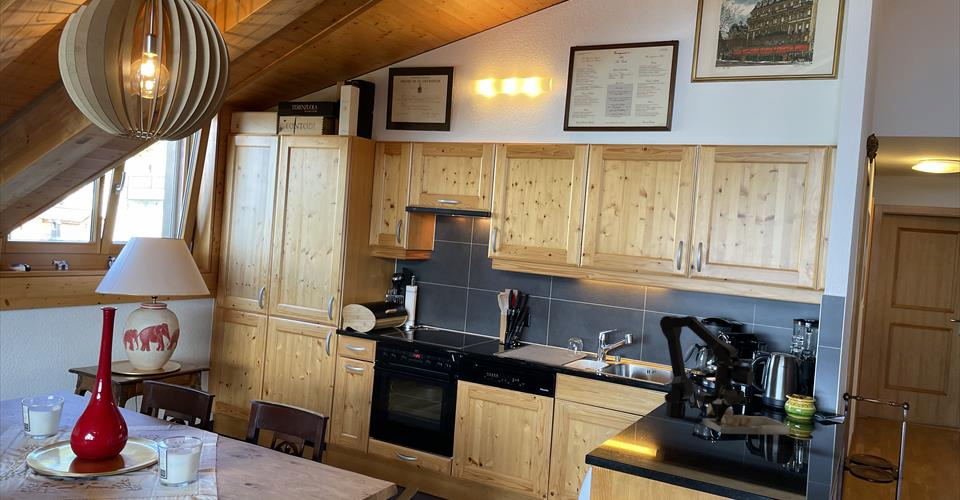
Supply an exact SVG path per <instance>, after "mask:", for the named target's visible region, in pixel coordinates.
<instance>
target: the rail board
mask: <svg viewBox="0 0 960 500" xmlns="http://www.w3.org/2000/svg"><path fill="white" fill-rule="evenodd" d="M746 416H747V417H750V418H752V420H751V426H730V425H720V424H721V421H720V422H717V420H716V418H702V421H701V422H700V424H701V425H703V426H705V427H708V428H710V429H713V430H714V431H716V432H719V433H721V434H722V435H723V434H726V435H727V434H728V435H729V434H731V435H739V434H740V435H774V436H775V435H776V436H779V435H781V436H782V435H783V436H791V433H792V425H791V426H790V425H788V424H785V423H783V422H781V421H778V420H776V419H773V418H771V417H768V416H760V415H759V416H758V415H753V416H751V415H750V416H749V415H746Z"/></svg>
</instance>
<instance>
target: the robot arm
mask: <svg viewBox="0 0 960 500" xmlns="http://www.w3.org/2000/svg"><path fill="white" fill-rule="evenodd" d="M659 325H660V329H661V332H662V334H663V335H664V338H665V339H666V340H667V348H668V353H669V359H670V365H671V371H672V379H671V383H670V384H671V386H670V387H671V388H670V391H669V392H667V393H666V394H665V395H664V400H665V402H666V408H665V413H663V415H664V416H666V417H669V418H671V419H687V417H685V416H686V409H687V408H686V403H688V401H689V399H690V398H691V397H693V395H694V390H695V387H694V382H693V381H694V380H693V378H689V377H688V376H687V374H686V367H685V361H684V356H683V350H682V345H681V334H682V331H683V329H682V328H689V329H690V330H691V332H693V333H694V334H695V335H696V336H697V337H698V338H700V340H702V342H703V343H705V344H706V345H707V346H708V347H709V349H710V350H711V353H712V354H713V356H714V357H715V358H716V359H715V361H712V362H711V366H714V367H716V369H715V370H716V371H715V378H714V379H715V380H712V384H713V385H714V388H713V391H710V392H711V393H708V392H702V391H701V392H697V393H696V394H695V397H694V400H695V401H698V402H700V403H703V404H709V403H710V404H711V406H712V409H713V411H714V414H715V416H714V417H715V419H716V420H717V422H720V421H721V419H722V417H723V415H724V413H725V412H726V410H727V409H728V408H731V407H733V406H734V405H745V406H746V405H747V403H748V402H747V400H748V399H747V398H746V396H745V395H746V394H745V393H746V392H745V391H744V390H736V389H735V390H734V387H735V386H734V384H733V383H732V382H734V383H737V384H740V385H745V386H749V387H750V386H751V385H753V384H754V383H753V382H754V380H755V373H754V371H753V366H750V365H743V363H742V361H741V360H740V358H739V356H738V353H737V352H738V351H737V349H736V348H735V346H733V345H731V343H728V342H726V341H724V340H722V339H720V338H719V337H718V336H716V335H715V334H714V333H713V332H712V331H711V330H709V328H707V327H706V325H704V324H703V323H702V322H701V321H700V320H698V318H697V317H696V316H694V315H686V316H682V317H681V316H679V317H678V316H677V315H664V316H662V317H661V319H660V321H659Z"/></svg>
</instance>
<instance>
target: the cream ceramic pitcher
mask: <svg viewBox="0 0 960 500" xmlns="http://www.w3.org/2000/svg"><path fill="white" fill-rule="evenodd" d="M706 414H707V415H709V416H714V417H715V414H714V411H713V409H712V406H711V404H710V403H708V405H707V408H706ZM724 415H733V416H734V410H733V409H732V408H731V407H729V408H728V409H727V410H726V412H725V413H724Z"/></svg>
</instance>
